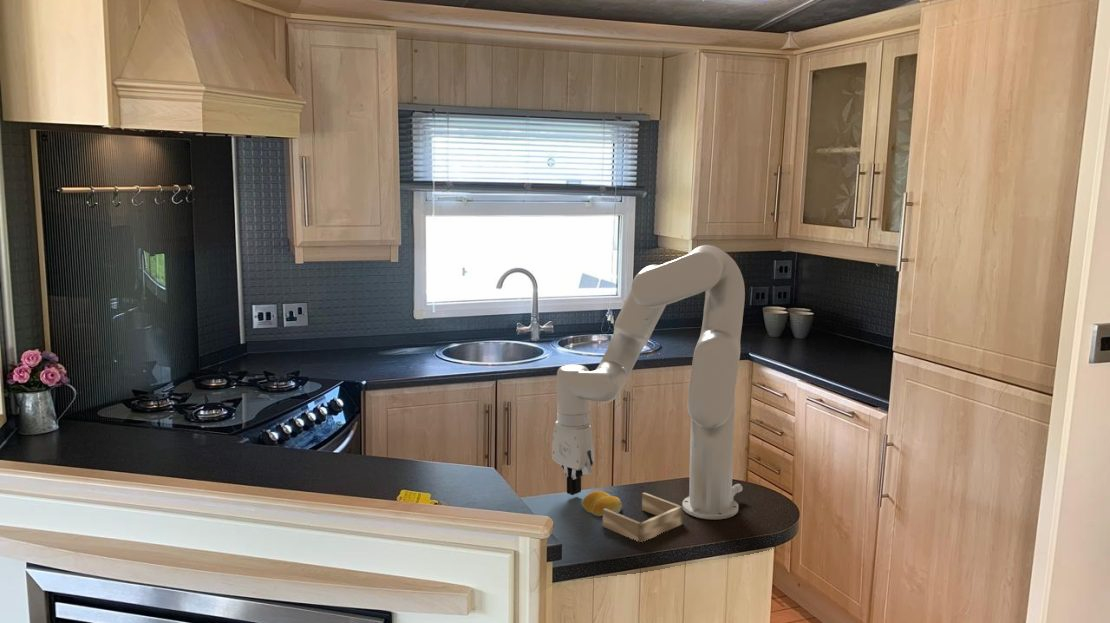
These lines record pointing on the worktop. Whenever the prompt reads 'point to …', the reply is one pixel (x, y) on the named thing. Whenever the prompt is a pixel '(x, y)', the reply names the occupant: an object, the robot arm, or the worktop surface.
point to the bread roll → (601, 503)
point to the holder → (664, 520)
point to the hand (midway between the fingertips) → (574, 492)
